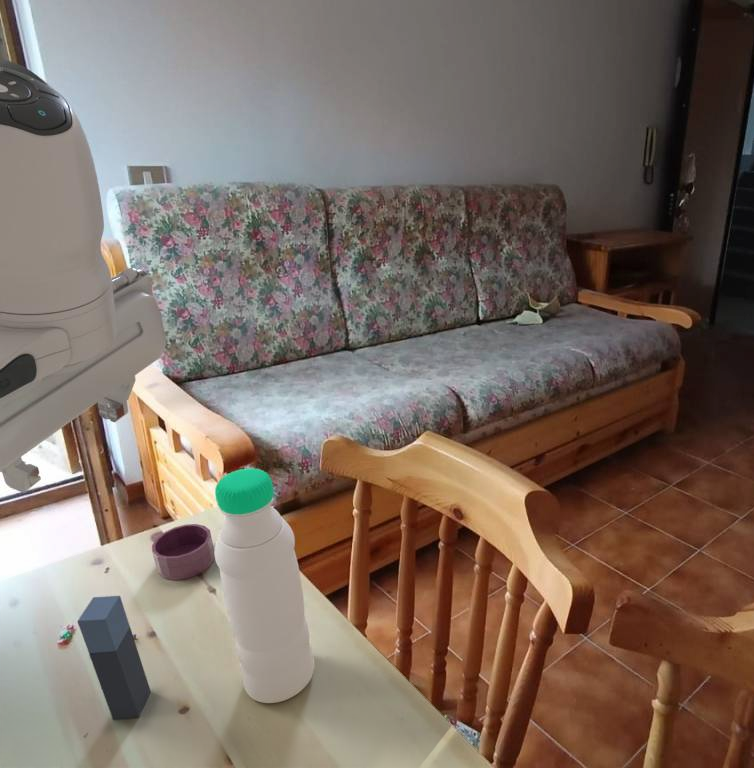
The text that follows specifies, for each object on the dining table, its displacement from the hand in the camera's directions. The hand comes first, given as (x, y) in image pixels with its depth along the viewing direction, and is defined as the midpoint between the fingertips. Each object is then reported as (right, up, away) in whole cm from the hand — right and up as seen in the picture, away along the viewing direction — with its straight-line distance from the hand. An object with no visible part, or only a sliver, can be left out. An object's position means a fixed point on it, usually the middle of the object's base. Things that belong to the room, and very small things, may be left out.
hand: (72, 447), depth 54 cm
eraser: (-1, -27, +9) cm, 28 cm away
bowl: (-5, -18, +28) cm, 34 cm away
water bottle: (+13, -26, +13) cm, 32 cm away
